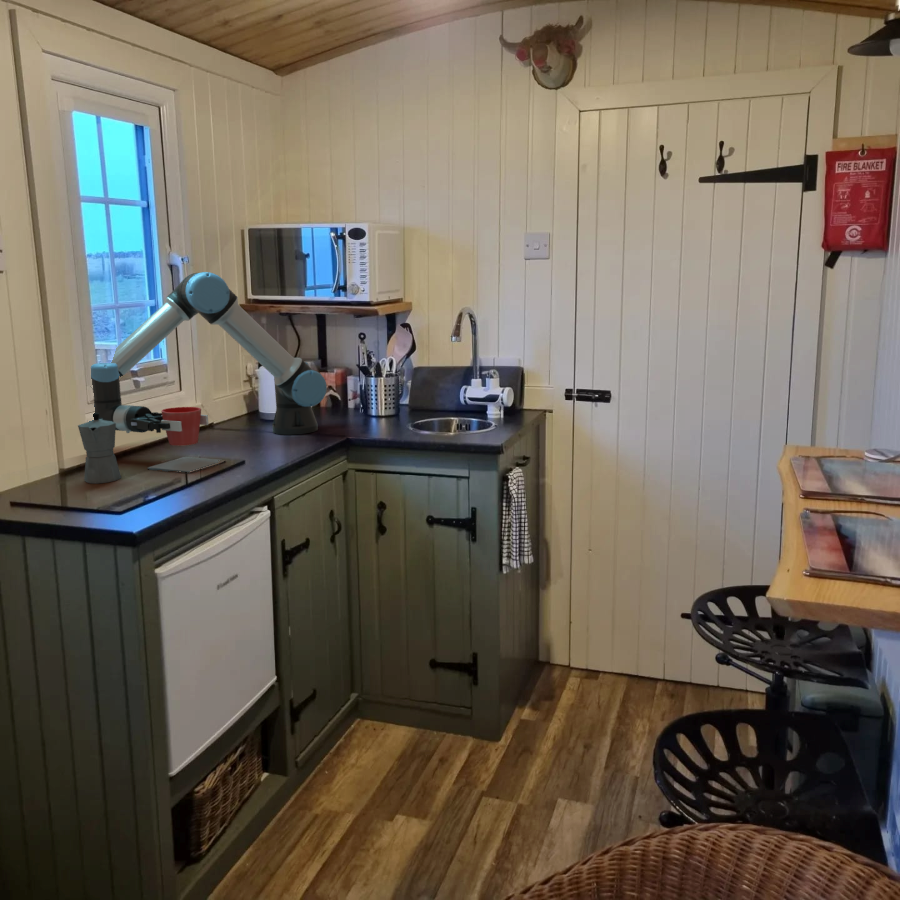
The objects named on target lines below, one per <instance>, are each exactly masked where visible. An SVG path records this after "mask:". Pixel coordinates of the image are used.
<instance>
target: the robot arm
mask: <svg viewBox="0 0 900 900" xmlns="http://www.w3.org/2000/svg"><path fill="white" fill-rule="evenodd" d="M198 314H199V315H200V316H201V317H203V318H204V320H206V321H207V322H208V323H209V324H210V325H214V326H215V325H218V326H219V327H220V328H222V329H223V331H225V333H227V334H228V335H229V336H230V337H231V338H232V339H233V340H234V341H236V343H237V344H239V346H241V348H243V349H244V350H245V351H246V352H247V353H248V354H249V355H250V356H251V357H253V358H254V359H255V360H256V361H257V363H259V364H260V365H261V366H262V368H264V369H265V370H267V371H268V372H269V373H270V375H271V376H273V377H274V379H273V380H274V391H275V392H274V393H275V394H274V396H275V405H276V407H275V408H276V409H275V414H274V417H273V422H272V427H271V429H272V433H273V434H275V433H276V435H284V436H285V435H286V436H287V435H289V436H291V435H294V436H295V435H303V434H309V433H311V434H312V433H313V432H314V433H315V432H317V431H318V429H319V428H318V427H319V426H318V422H317V419H316V417H315V414H314V411H313V407H315V406H317V405H318V404H319V403H321V402H322V401H323V399H325V397H326V394H327V390H328V388H327V385H328V384H327V381H326V379H325V377H324V376H323V375H322V374H321V373H320V372H318V371H317V370H314V369H313V368H312V367H311V366H310V365H309V363H308V362H307V361H304V359H302V358H301V357H294V356H293V355H292V354H290V353H289V352H288V351H287V350H286V349H285V348H284V347H283V346H282V344H280V343H279V342H278V341H277V340H276V339H275V338H273V337H272V335H270V333H268V331H266V330H265V329H264V327H262V326H261V325H260V324H259V323H258V322H257V321H256V320H255V319H254V318H253V317H252V316H251V315H250V314H249V313H247V311H246V310H244V309H243V307H242V306H240V304H239V298H238V296H237V295H236V294H235V293H234V292H233V291H232V290H231V289H230V288H229V286H228V284H227V283H226V281H225V280H224V279H223V278H222V277H220V276H219V275H218V274H216V273H213V272H210V271H209V272H208V271H202V272H195V273H193V272H192V273H191V274H188V275H187V276H186V277H185V278H183V279H182V280H181V281H180V282H179V284H178V285H177V286H176V287H175V288H174V289H173V291H171V292H170V294H168V295H167V296H166V298H165V303H164V304H163V305H161V306H160V307H159V308H158V309H157V310H156V311H155V312H154V313H153V314H152V315H150V316H149V317H148V318H147V319H146V320H145V321H144V322H142V324H140V325H139V326H138V327H137V328H136V329H135V330H134V331H133V332H132V333H130V334H129V335H128V336H127V337H126V338H125V339H124V340H123V341H122V342H121V343H120V344H119V345H118V346H116V347H117V348H116V347H115V348H116V351H115V354H114V357H113V360H112V362H111V363H100V362H98V363H94V364H92V365H91V366H90V369H91V379H92V385H93V388H92V393H94V396H93V404H94V407H95V413H99V418H103V419H104V420H106V421H112V422H114V423H116V430H115V431H121V432H126V434H130V432H133V433H146V432H154V431H155V430H156V431H155V432H156V434H160V433H162V431H166V430H167V431H182V426H181V421H168V420H163V417H162V412H157V411H153V412H152V410H151V409H150V408H149V407H146V406H143V405H131V404H128V405H127V404H122V395H121V385H120V384H121V382H120V381H121V380H119V376H120V377H121V376H123V375H124V376H125V375H127V374H128V372H129V371H131V370H132V369H133V368H134V367H135V366H137V364H138V363H139V362H140V361H141V360H143V359H144V358H145V357H146V356H147V355H148V354H149V353H150V352H151V351H152V350H153V349H155V348H156V347H157V346H158V345H159V344H160V343H161V342H162V341H163V340H164V339H166V338H167V337H168V336H169V335H170V334H171V333H172V332H173V331H174V330H175V329H177V328H178V326H180V325H181V324H182V323H183V322H186V321H190V320H192V318H193V317H195V316H196V315H198ZM124 376H123V377H124ZM208 425H209V415H207V414H201V419H200V426H208Z"/></svg>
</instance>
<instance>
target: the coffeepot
mask: <svg viewBox="0 0 900 900" xmlns="http://www.w3.org/2000/svg"><path fill="white" fill-rule="evenodd" d="M93 417H94V420H92V421H89V422H88V421H87V422H84V423H81V424H78V425H77V427H78V431H79V434H80V439H81V441H82V445H83V449H84V451H85V453H86V457H85V462H84V463H85V466H84V479H83V480H84V481H85V483H86V484H105V483H113V482H115V481H116V482H117V481H118V480H121V478H122V475H121V471H120V468H119V464H118V461H117V457H116V455H115V454H114V448H115V446H116V445H115V444H116V431H117V430H116V423H114V422H112V421H106V420H104V419H103V418H99V413H94V414H93Z"/></svg>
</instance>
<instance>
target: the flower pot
mask: <svg viewBox="0 0 900 900" xmlns="http://www.w3.org/2000/svg"><path fill="white" fill-rule="evenodd" d="M160 413H162V415H161V416H162V417H163V420H168V421H181V426H182V431H167V430H165V433H166V436H167V440H168V443H169V445H170V446H172V447H173V446H179V447H183V446H185V447H187V446H193V445H197V444H198V442H199V436H200V426H201V425H200V419H201V415H202V408H201V407H197V406H177V407H175V406H174V407H168V408H164V409H161V410H160Z"/></svg>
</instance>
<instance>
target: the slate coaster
mask: <svg viewBox="0 0 900 900" xmlns="http://www.w3.org/2000/svg"><path fill="white" fill-rule="evenodd" d="M218 460H219V461H220V460H221V459H219V458H218V459H216V458H205V457H194V456H182V457H179V458H176V459H172V460H169V461H165V462H162V463H159V464H155V465H152V466H147V470H148V469H149V470H148V471H157V470H162V471H161V472H168V471H178V472H179V471H181V472H190V471H193V470H196V469H199V468H203V467H206V466H209V465H212V464H215V463H218V462H219V461H218ZM178 472H177V473H178Z"/></svg>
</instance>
